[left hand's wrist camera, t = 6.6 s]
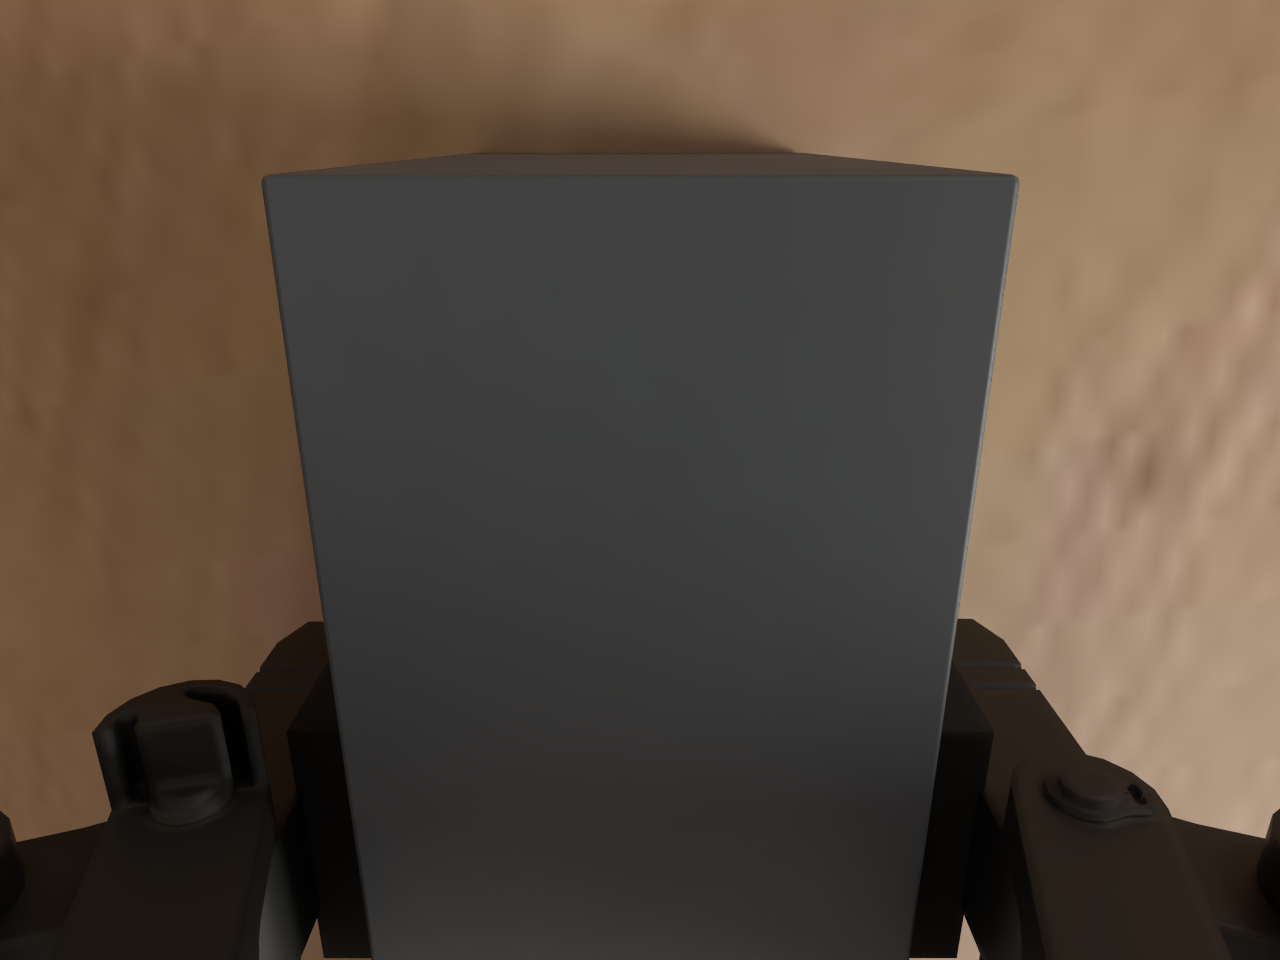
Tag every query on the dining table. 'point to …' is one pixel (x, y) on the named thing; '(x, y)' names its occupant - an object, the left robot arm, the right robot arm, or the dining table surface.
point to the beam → (640, 536)
